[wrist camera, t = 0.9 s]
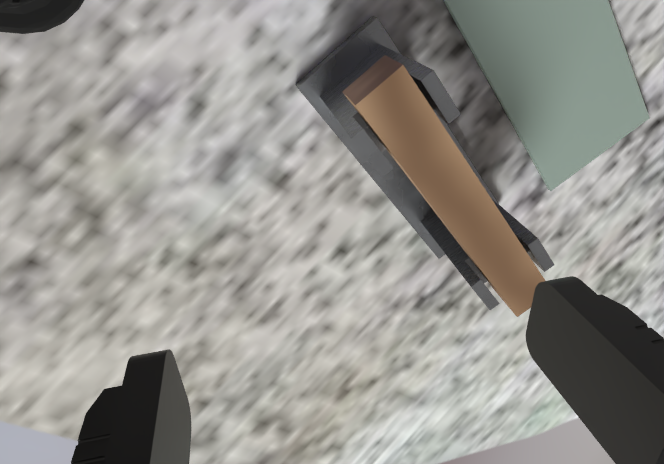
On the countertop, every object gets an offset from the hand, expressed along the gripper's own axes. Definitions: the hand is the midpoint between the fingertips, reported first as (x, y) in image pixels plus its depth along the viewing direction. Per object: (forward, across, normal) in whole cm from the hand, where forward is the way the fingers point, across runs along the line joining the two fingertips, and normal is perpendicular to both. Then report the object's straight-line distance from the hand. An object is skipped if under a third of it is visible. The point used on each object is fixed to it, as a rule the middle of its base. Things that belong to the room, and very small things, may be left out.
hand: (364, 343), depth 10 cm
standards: (+26, -11, +6) cm, 29 cm away
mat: (+26, -21, -1) cm, 34 cm away
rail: (+18, -11, +6) cm, 22 cm away
